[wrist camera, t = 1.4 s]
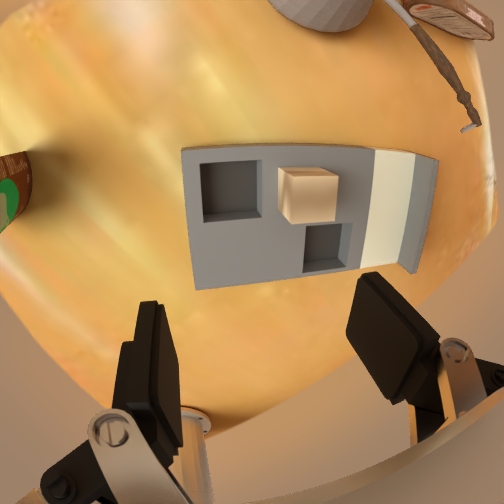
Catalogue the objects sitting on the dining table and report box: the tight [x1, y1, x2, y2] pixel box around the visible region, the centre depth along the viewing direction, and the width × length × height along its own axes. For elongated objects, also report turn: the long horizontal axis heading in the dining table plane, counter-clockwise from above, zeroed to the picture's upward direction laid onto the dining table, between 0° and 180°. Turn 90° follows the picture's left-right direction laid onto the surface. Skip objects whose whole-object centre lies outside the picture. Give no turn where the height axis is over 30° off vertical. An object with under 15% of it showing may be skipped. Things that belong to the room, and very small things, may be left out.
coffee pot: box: [268, 0, 482, 133], centre depth 15 cm, size 21×12×15 cm, turn 30°
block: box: [278, 167, 339, 224], centre depth 24 cm, size 4×4×4 cm
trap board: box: [181, 143, 439, 290], centre depth 28 cm, size 14×26×6 cm, turn 91°
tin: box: [403, 0, 494, 41], centre depth 17 cm, size 15×3×8 cm, turn 94°
